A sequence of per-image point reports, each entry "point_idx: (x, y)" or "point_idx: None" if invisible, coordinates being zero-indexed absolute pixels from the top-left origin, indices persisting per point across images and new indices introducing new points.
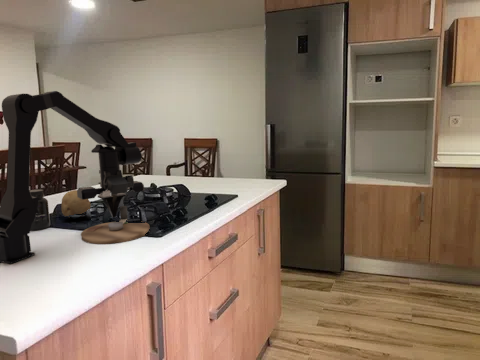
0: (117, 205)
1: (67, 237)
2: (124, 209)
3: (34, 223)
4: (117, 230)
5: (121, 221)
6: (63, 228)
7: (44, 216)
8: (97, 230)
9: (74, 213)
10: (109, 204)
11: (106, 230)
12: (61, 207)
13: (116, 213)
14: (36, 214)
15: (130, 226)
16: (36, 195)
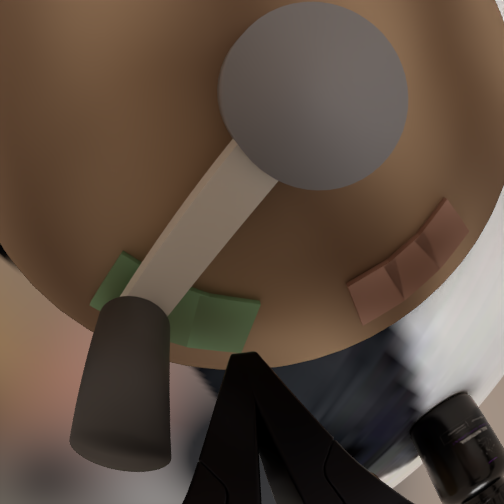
0: (215, 481)
1: (493, 251)
2: (106, 397)
3: (476, 408)
4: None
5: (191, 225)
6: (415, 393)
7: (461, 436)
8: (422, 198)
9: None
10: (369, 483)
11: None
12: None
13: (221, 385)
14: (486, 433)
15: (119, 101)
16: (502, 492)
